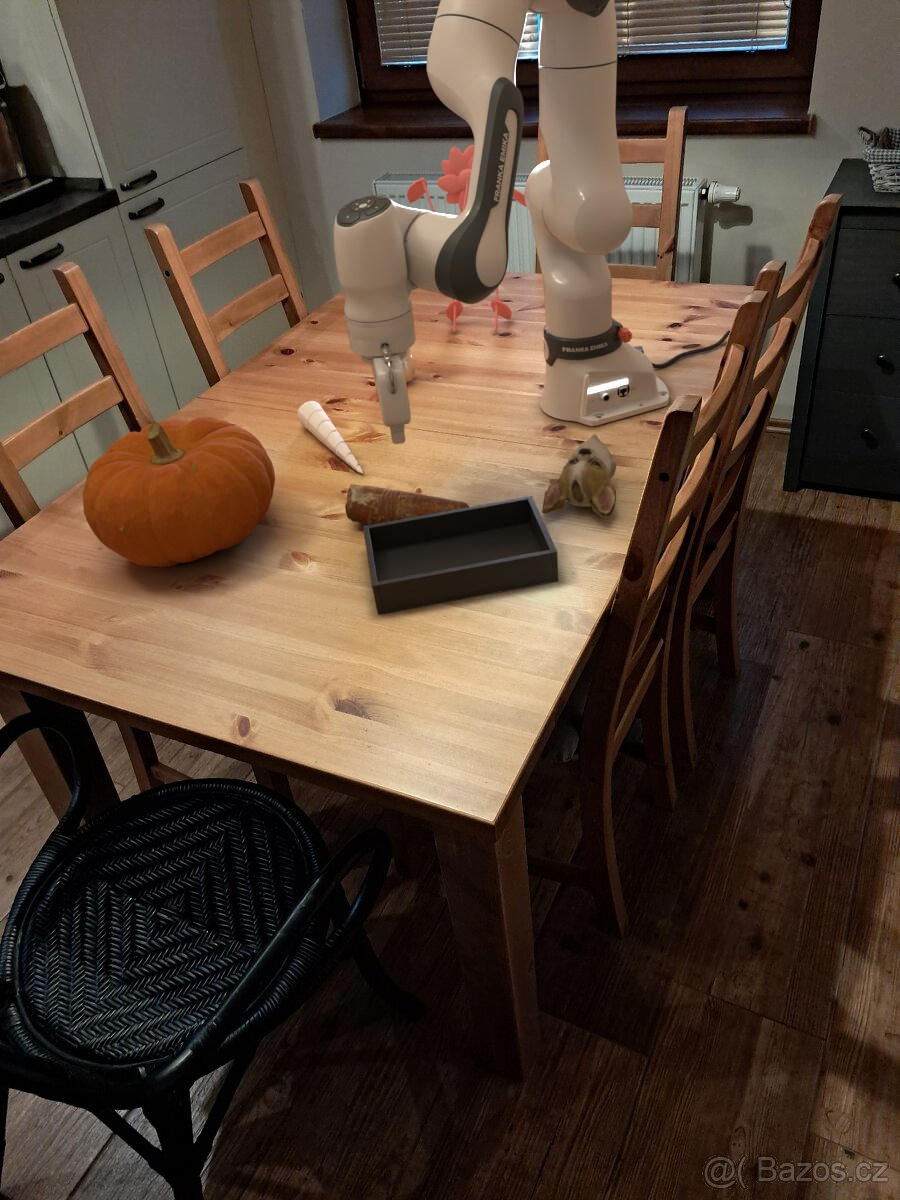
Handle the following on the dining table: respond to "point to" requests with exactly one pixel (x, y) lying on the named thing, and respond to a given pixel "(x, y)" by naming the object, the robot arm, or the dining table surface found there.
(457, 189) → the figurine
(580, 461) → the ceramic sculpture
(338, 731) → the dining table surface
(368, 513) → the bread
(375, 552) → the tray
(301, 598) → the dining table surface
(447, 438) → the dining table surface
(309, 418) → the unicorn horn
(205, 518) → the pumpkin
